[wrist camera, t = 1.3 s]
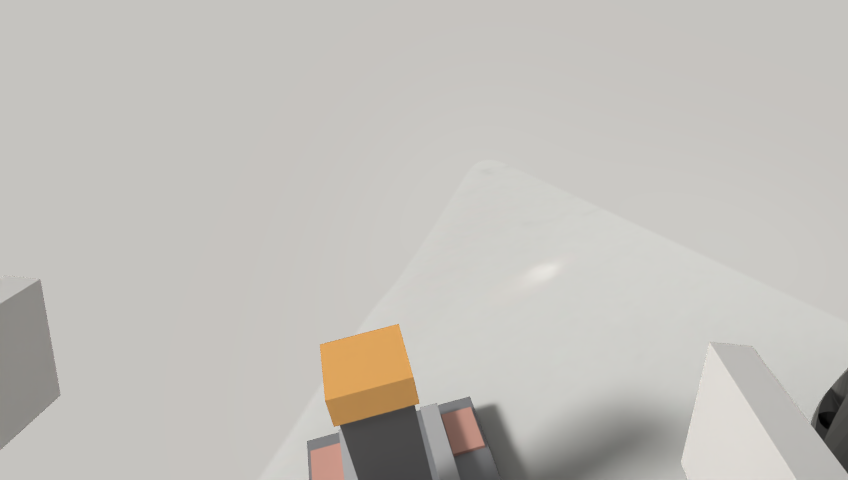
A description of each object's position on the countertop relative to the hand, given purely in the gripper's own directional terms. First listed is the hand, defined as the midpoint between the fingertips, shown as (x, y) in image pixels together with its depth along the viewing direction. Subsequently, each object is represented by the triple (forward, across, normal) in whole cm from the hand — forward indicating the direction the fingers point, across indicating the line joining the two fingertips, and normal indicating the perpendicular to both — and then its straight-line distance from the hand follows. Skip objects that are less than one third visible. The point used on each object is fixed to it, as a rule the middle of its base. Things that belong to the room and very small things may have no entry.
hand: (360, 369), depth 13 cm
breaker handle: (+13, 0, -17) cm, 22 cm away
